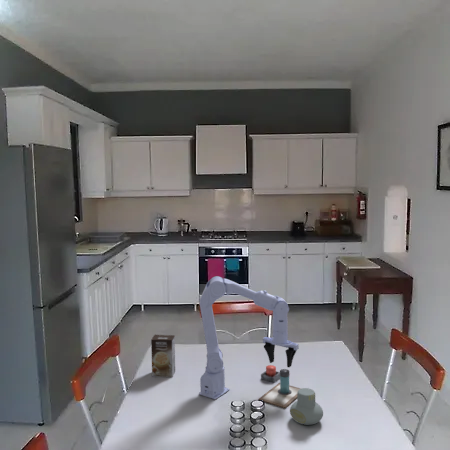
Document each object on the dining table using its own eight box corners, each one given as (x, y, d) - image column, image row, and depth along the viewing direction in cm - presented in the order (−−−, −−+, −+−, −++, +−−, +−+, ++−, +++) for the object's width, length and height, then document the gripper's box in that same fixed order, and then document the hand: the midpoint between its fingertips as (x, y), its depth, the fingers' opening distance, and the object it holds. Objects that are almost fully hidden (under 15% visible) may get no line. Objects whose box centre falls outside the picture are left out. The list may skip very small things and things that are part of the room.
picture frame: (285, 408, 155) (285, 406, 155) (258, 400, 161) (258, 398, 161) (304, 391, 168) (304, 389, 168) (279, 384, 174) (279, 382, 174)
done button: (272, 377, 177) (272, 370, 177) (264, 375, 179) (264, 367, 179) (277, 374, 180) (277, 366, 180) (269, 371, 183) (269, 364, 182)
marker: (286, 394, 164) (286, 373, 163) (278, 392, 166) (278, 371, 165) (291, 390, 167) (291, 370, 166) (282, 388, 169) (282, 368, 168)
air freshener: (285, 418, 149) (285, 389, 148) (302, 410, 154) (302, 382, 153) (310, 431, 140) (310, 401, 139) (327, 422, 145) (327, 393, 144)
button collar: (273, 382, 176) (273, 377, 176) (261, 379, 179) (260, 374, 179) (281, 377, 181) (281, 372, 180) (268, 373, 184) (268, 369, 184)
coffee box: (151, 377, 183) (150, 339, 182) (155, 370, 190) (154, 334, 188) (172, 377, 182) (171, 339, 181) (176, 371, 189) (175, 334, 187)
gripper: (302, 330, 167) (302, 364, 168) (269, 323, 175) (269, 356, 177) (293, 335, 161) (293, 371, 162) (259, 328, 170) (260, 362, 171)
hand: (280, 364), depth 169 cm, fingers open, 7 cm apart
